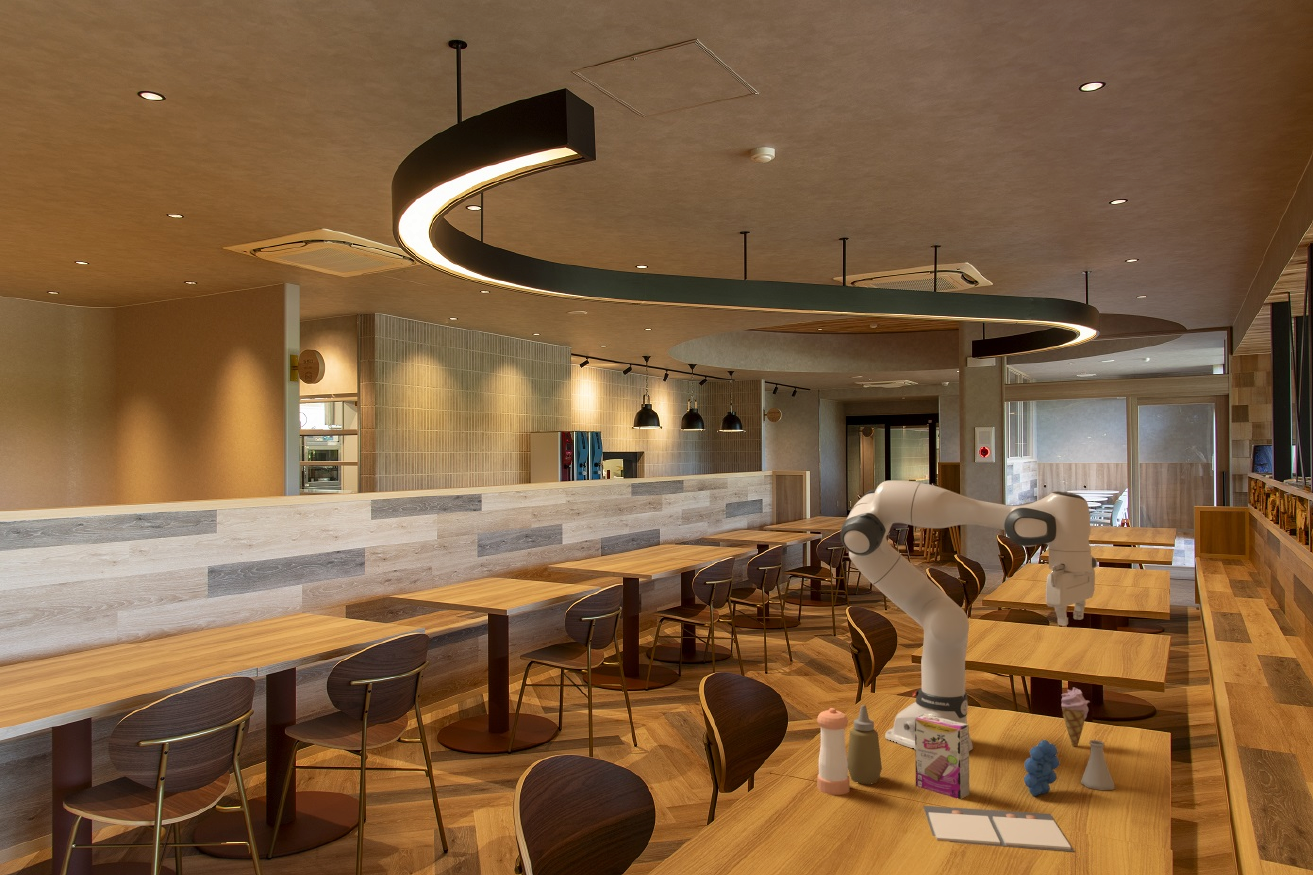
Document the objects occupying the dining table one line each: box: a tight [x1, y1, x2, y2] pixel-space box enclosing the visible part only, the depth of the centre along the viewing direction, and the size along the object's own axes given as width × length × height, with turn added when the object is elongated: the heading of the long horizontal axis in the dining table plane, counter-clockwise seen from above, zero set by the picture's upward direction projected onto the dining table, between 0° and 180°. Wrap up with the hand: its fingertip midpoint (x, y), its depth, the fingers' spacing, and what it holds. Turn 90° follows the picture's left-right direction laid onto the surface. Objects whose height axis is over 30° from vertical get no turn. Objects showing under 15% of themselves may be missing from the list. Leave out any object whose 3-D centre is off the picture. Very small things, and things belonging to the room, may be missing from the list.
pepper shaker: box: [816, 707, 850, 796], centre depth 195 cm, size 7×7×19 cm
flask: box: [1080, 739, 1115, 791], centre depth 197 cm, size 7×7×10 cm
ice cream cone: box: [1060, 687, 1091, 747], centre depth 223 cm, size 7×6×15 cm
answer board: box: [923, 805, 1075, 853], centre depth 174 cm, size 26×17×1 cm, turn 80°
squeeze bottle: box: [847, 704, 883, 785], centre depth 200 cm, size 8×8×18 cm
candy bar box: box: [914, 714, 971, 800], centre depth 194 cm, size 11×5×16 cm, turn 45°
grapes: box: [1023, 739, 1061, 797], centre depth 193 cm, size 12×7×12 cm, turn 123°
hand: (1070, 622), depth 195 cm, fingers open, 8 cm apart
